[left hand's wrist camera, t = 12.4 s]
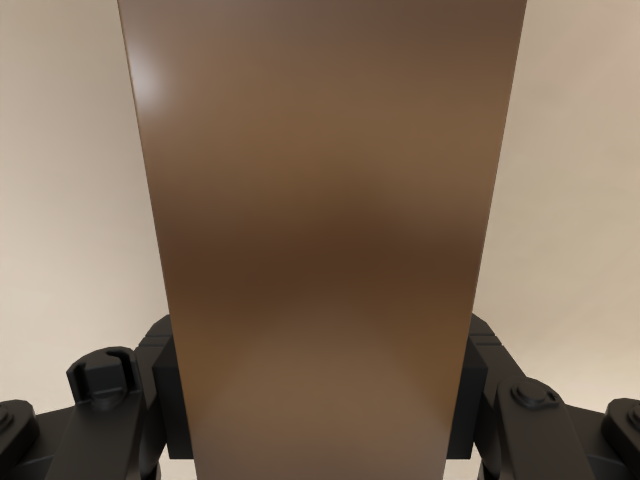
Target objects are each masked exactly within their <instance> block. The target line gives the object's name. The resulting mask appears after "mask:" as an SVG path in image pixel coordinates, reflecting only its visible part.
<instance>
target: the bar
mask: <svg viewBox="0 0 640 480" xmlns="http://www.w3.org/2000/svg"><path fill="white" fill-rule="evenodd" d="M117 2H118V8H119V14H120V20H121V26H122V32H123V38H124V44H125V50H126V56H127V62H128V68H129V74H130V80H131V86H132V92H133V98H134V104H135V110H136V116H137V122H138V128H139V134H140V140H141V146H142V152H143V158H144V164H145V170H146V175H147V181H148V187H149V193H150V199H151V205H152V211H153V217H154V223H155V229H156V235H157V241H158V247H159V253H160V259H161V265H162V271H163V277H164V283H165V289H166V295H167V301H168V307H169V313H170V319H171V325H172V331H173V337H174V343H175V349H176V355H177V361H178V367H179V373H180V379H181V385H182V391H183V397H184V403H185V409H186V415H187V421H188V427H189V433H190V439H191V445H192V450H193V456H194V462H195V468H196V474H197V480H443V474H444V468H445V463H446V457H447V451H448V446H449V440H450V434H451V429H452V423H453V417H454V412H455V406H456V400H457V395H458V389H459V383H460V378H461V372H462V366H463V361H464V355H465V349H466V343H467V338H468V332H469V326H470V321H471V315H472V309H473V304H474V298H475V292H476V287H477V281H478V275H479V270H480V264H481V258H482V253H483V247H484V241H485V236H486V230H487V224H488V219H489V213H490V207H491V202H492V196H493V190H494V184H495V179H496V173H497V167H498V162H499V156H500V150H501V145H502V139H503V133H504V128H505V122H506V116H507V111H508V105H509V99H510V94H511V88H512V82H513V77H514V71H515V65H516V60H517V54H518V48H519V43H520V37H521V31H522V26H523V20H524V14H525V8H526V3H527V0H117Z"/></svg>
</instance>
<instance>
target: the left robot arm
mask: <svg viewBox="0 0 640 480" xmlns="http://www.w3.org/2000/svg"><path fill="white" fill-rule="evenodd" d="M66 374H67V377H68V381H69V384H70V387H71V391H72V394H73V397H74V401H75V406H72V407H68V408H65V409H60V410H56V411H52V412H47V413H43V414H39V415H35V412H34V409H33V406H32V405H31V404H30V403H28V402H27V401H24V400H10V401H4V402H0V480H161V470H160V464H159V458H160V456H161V454H162V451H163V449H164V447H165V445H166V443H167V448H168V453H169V458H170V459H194V456H193V450H192V445H191V439H190V433H189V427H188V421H187V415H186V409H185V403H184V397H183V391H182V385H181V379H180V373H179V367H178V361H177V355H176V349H175V343H174V337H173V331H172V325H171V319H170V315H166V316H165V317H163V318H162V319H160V320H159V321H157V322H156V323H155V324H153V326H152V327H151V328H150V330H149V331H148V332H147V334H146V335H145V337H144V338H143V339H142V341H141V342H140V343H139V347H136V349H135V350H134V351H133V350H131V349H130V348H126V347H121V346H119V347H107V348H103V349H100V350H96V351H94V352H91V353H89V354H87V355H85V356H83V357H81V358H80V359H79V360H77V361H76V362H74V363H73V364H72V365H71V366H70V368H69V369H68V370H67V372H66ZM473 443H475V445H476V447H477V449H478V452H479V454H480V456H481V458H482V459H481V464H480V469H479V473H478V478H477V480H640V400H635V399H628V398H620V399H614V400H613V401H611V402H610V403H609V404H608V406H607V409H606V412H605V414H604V413H600V412H595V411H591V410H587V409H582V408H578V407H574V406H570V405H567V404H565V403H564V401H563V400H562V399H561V397H560V396H559V394H558V393H556V392H555V391H554V390H553V389H552V388H550V387H549V386H548V385H546V384H544V383H542V382H540V381H538V380H535V379H532V378H529V377H526V375H525V374H524V373H523V371H522V370H521V369H520V367H519V366H518V365H517V363H516V362H515V361H514V359H513V358H512V357H511V355H510V354H509V353H508V351H507V350H506V348H505V347H504V346H502V343H501V342H500V340H499V339H498V338H497V336H495V334H494V332H493V331H492V330H491V328H490V327H489V326H488V324H487V323H486V322H485V321H483V320H482V319H480V318H479V317H477V316H476V315H474V314H473V313H472V315H471V321H470V326H469V332H468V338H467V343H466V349H465V355H464V361H463V366H462V372H461V378H460V383H459V389H458V395H457V400H456V406H455V412H454V417H453V423H452V429H451V434H450V440H449V446H448V451H447V457H446V459H470V458H471V453H472V448H473Z"/></svg>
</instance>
